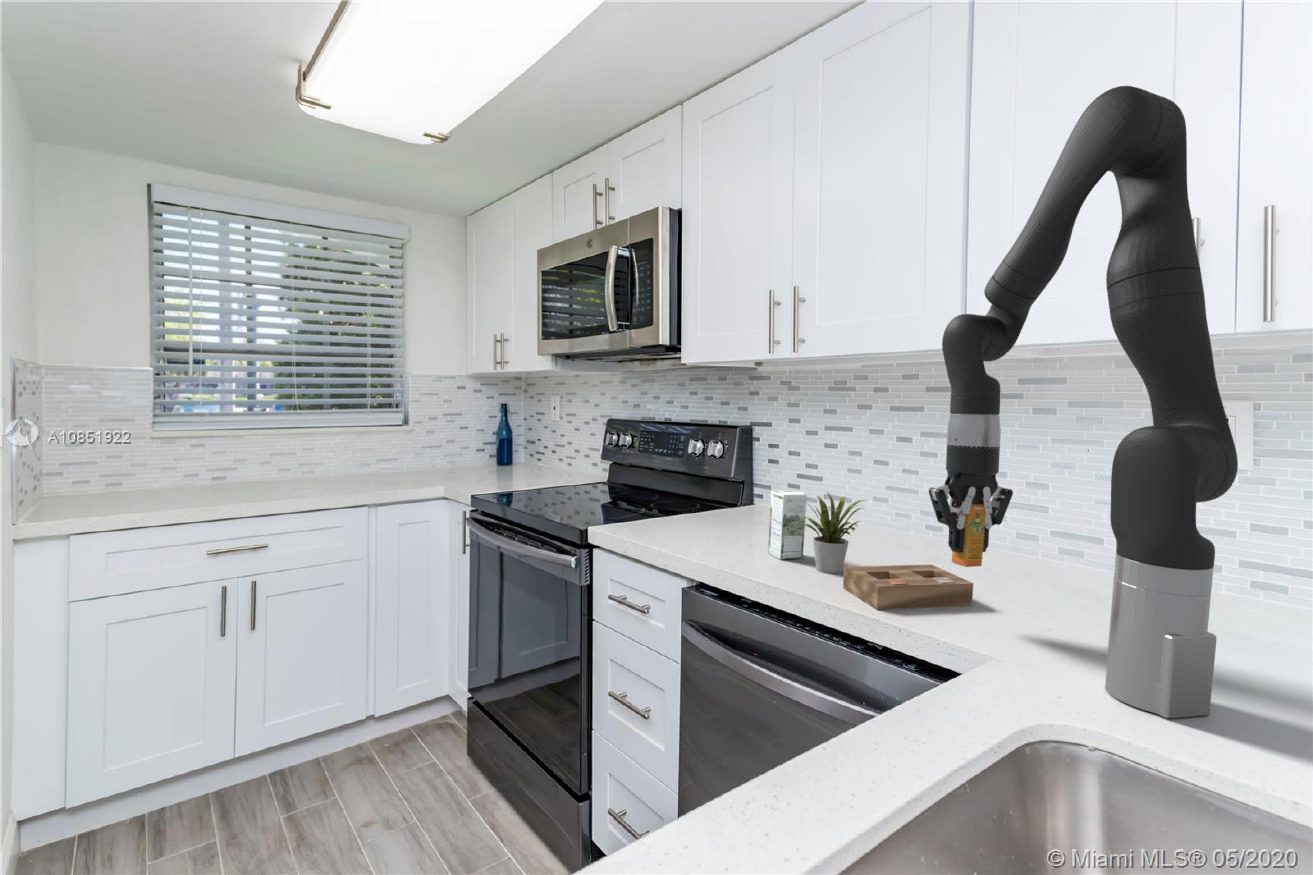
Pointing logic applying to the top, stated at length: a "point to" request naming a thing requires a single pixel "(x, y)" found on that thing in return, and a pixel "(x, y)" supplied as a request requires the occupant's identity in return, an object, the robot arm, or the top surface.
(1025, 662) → the top surface
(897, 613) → the top surface
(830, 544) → the house plant
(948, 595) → the socket board
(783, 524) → the syrup box
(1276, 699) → the top surface
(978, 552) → the supplement box
